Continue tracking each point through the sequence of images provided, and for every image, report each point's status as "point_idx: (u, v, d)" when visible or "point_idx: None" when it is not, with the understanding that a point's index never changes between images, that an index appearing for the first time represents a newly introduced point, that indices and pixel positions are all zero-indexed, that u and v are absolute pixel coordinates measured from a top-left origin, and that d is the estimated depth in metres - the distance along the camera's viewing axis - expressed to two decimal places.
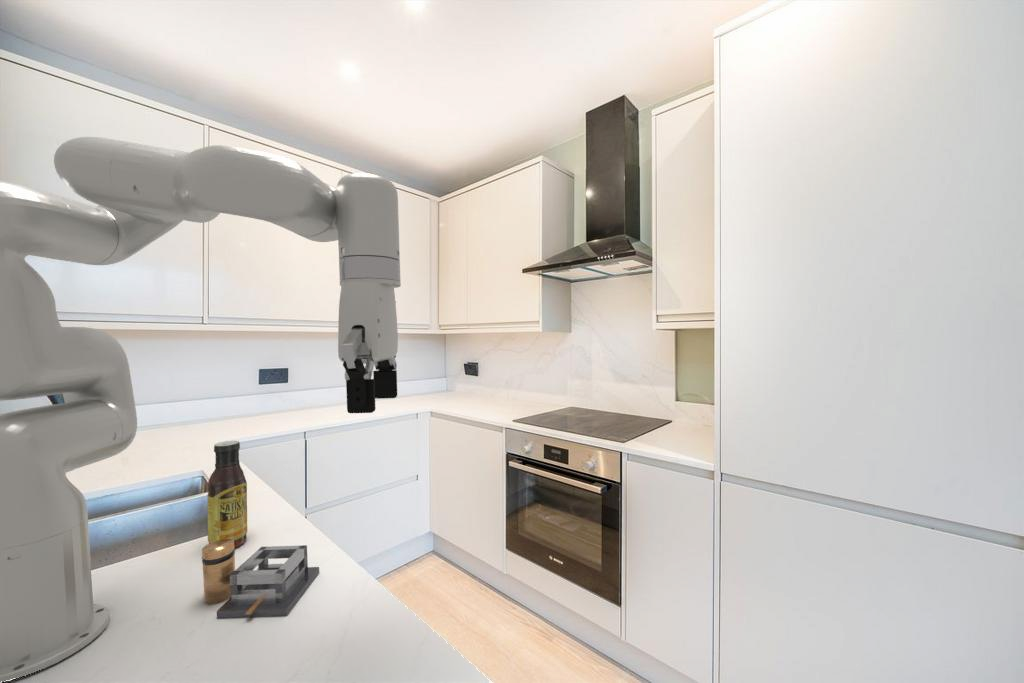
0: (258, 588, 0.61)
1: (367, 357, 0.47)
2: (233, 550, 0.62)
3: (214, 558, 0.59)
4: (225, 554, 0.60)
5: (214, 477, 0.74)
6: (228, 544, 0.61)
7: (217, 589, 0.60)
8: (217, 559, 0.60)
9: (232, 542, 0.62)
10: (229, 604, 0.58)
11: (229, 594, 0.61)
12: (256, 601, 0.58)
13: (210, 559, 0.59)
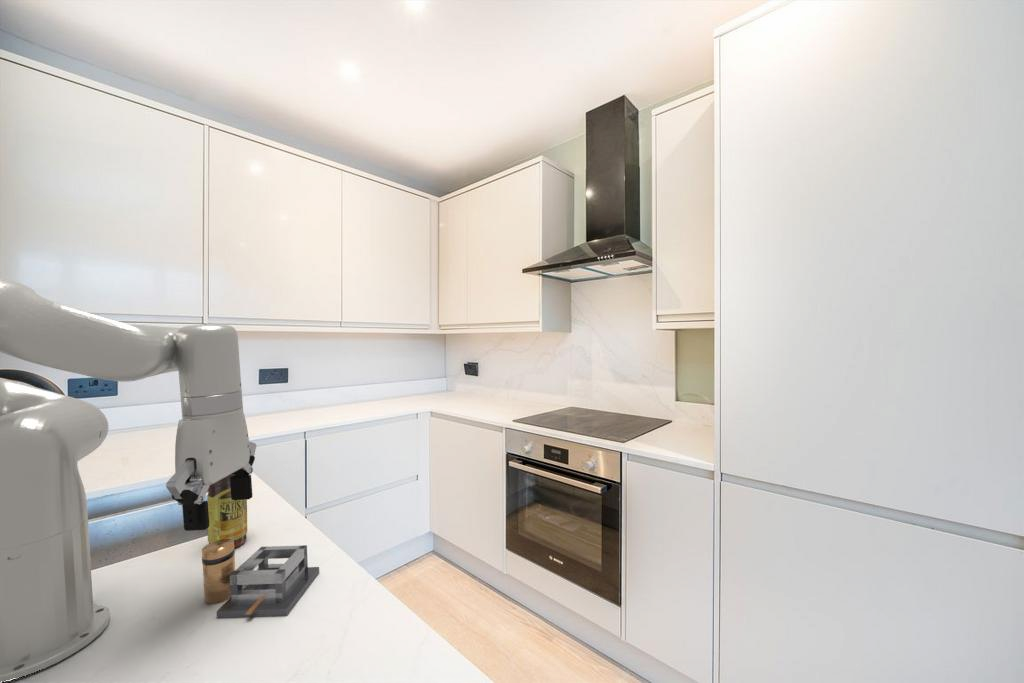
0: (258, 588, 0.61)
1: (200, 483, 0.56)
2: (233, 550, 0.62)
3: (214, 558, 0.59)
4: (225, 554, 0.60)
5: None
6: (228, 544, 0.61)
7: (217, 589, 0.60)
8: (217, 559, 0.60)
9: (232, 542, 0.62)
10: (229, 604, 0.58)
11: (229, 594, 0.61)
12: (256, 601, 0.58)
13: (210, 560, 0.59)
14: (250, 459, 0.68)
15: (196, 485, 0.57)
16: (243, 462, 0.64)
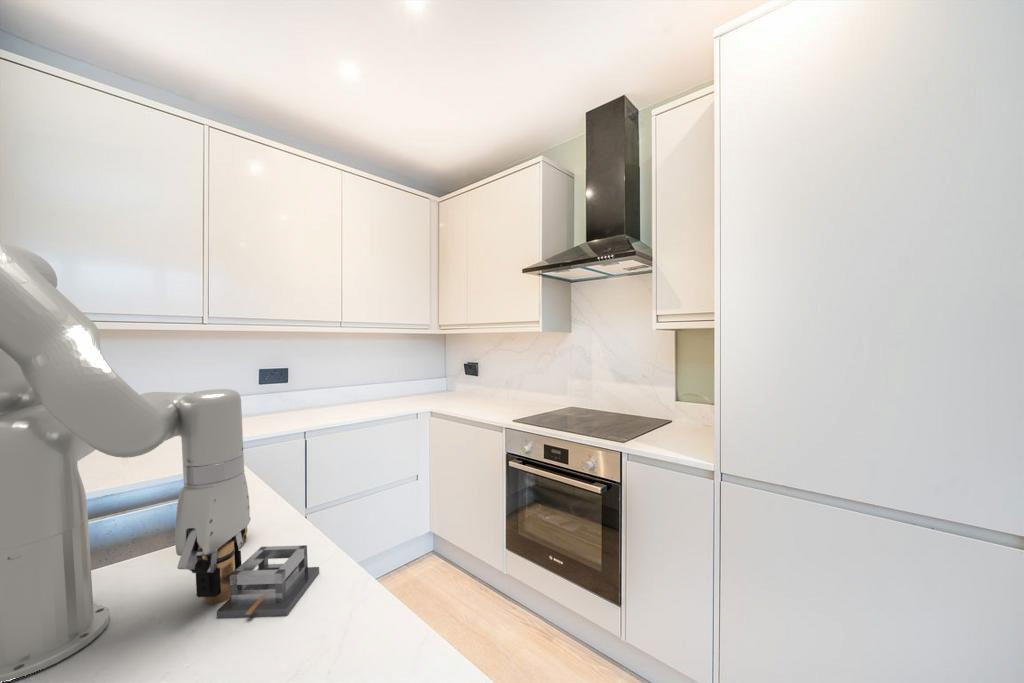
0: (258, 588, 0.61)
1: (208, 554, 0.58)
2: (233, 550, 0.62)
3: None
4: (225, 554, 0.60)
5: None
6: (228, 544, 0.61)
7: None
8: (217, 559, 0.60)
9: (232, 542, 0.62)
10: (229, 604, 0.58)
11: (229, 594, 0.61)
12: (256, 601, 0.58)
13: None
14: (240, 533, 0.65)
15: (204, 554, 0.58)
16: (243, 525, 0.64)
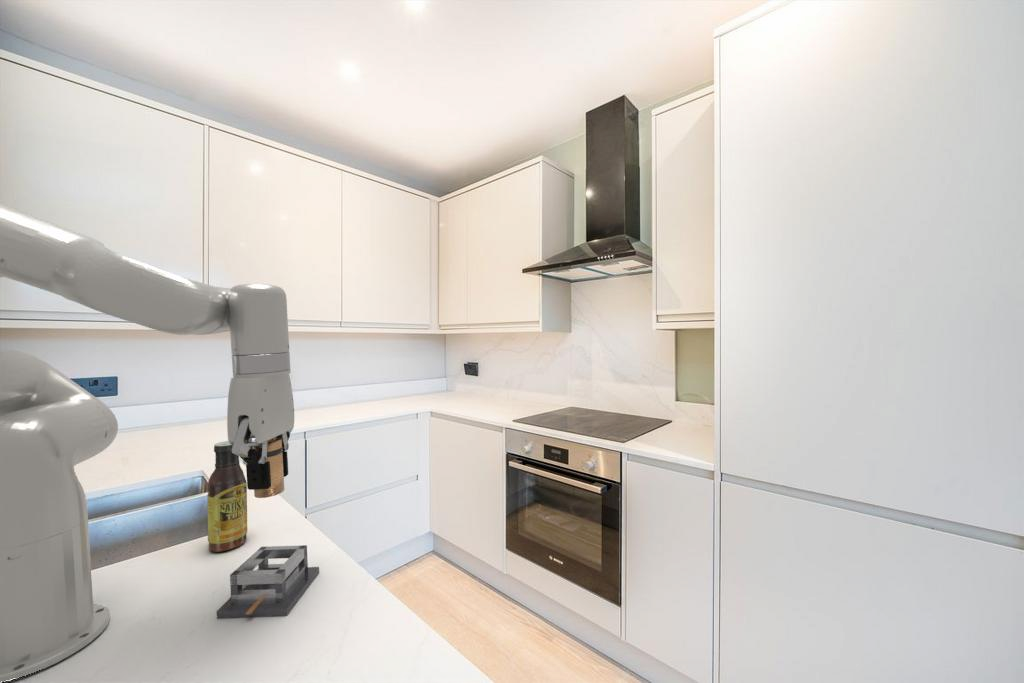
0: (258, 588, 0.61)
1: (259, 445, 0.58)
2: (281, 447, 0.62)
3: None
4: (274, 449, 0.60)
5: (214, 477, 0.74)
6: (276, 440, 0.61)
7: None
8: (267, 452, 0.59)
9: (280, 439, 0.62)
10: (229, 604, 0.58)
11: (279, 490, 0.61)
12: (256, 601, 0.58)
13: None
14: None
15: None
16: (289, 425, 0.64)
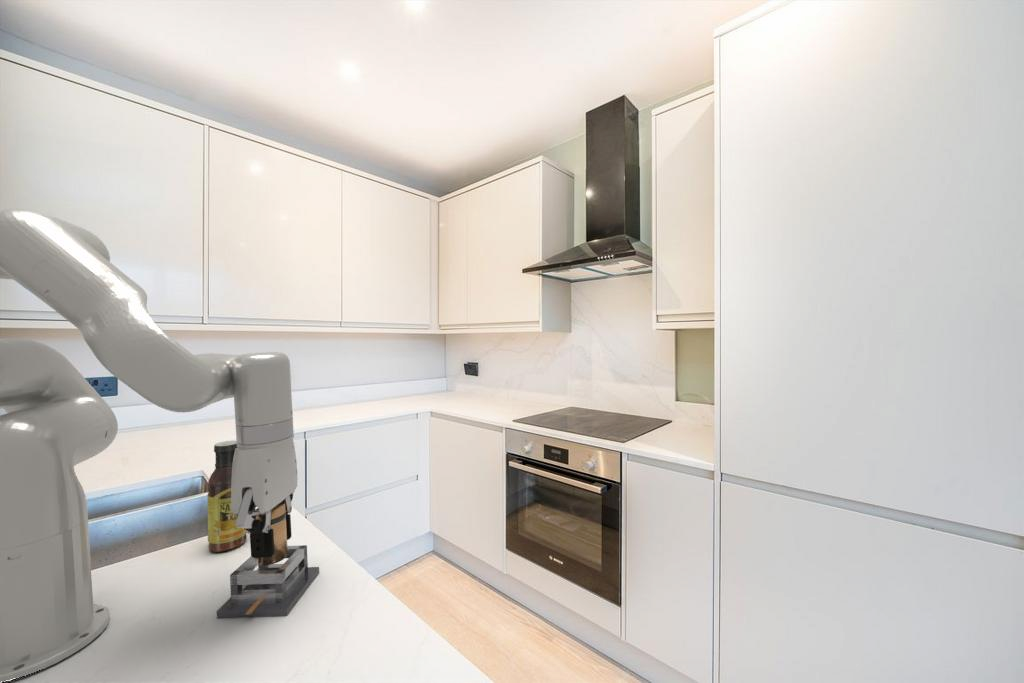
0: (258, 588, 0.61)
1: (262, 514, 0.58)
2: (285, 512, 0.62)
3: None
4: (278, 515, 0.60)
5: (214, 477, 0.74)
6: (280, 506, 0.62)
7: None
8: None
9: (283, 504, 0.62)
10: (229, 604, 0.58)
11: (282, 556, 0.61)
12: (256, 601, 0.58)
13: None
14: None
15: None
16: (292, 488, 0.64)
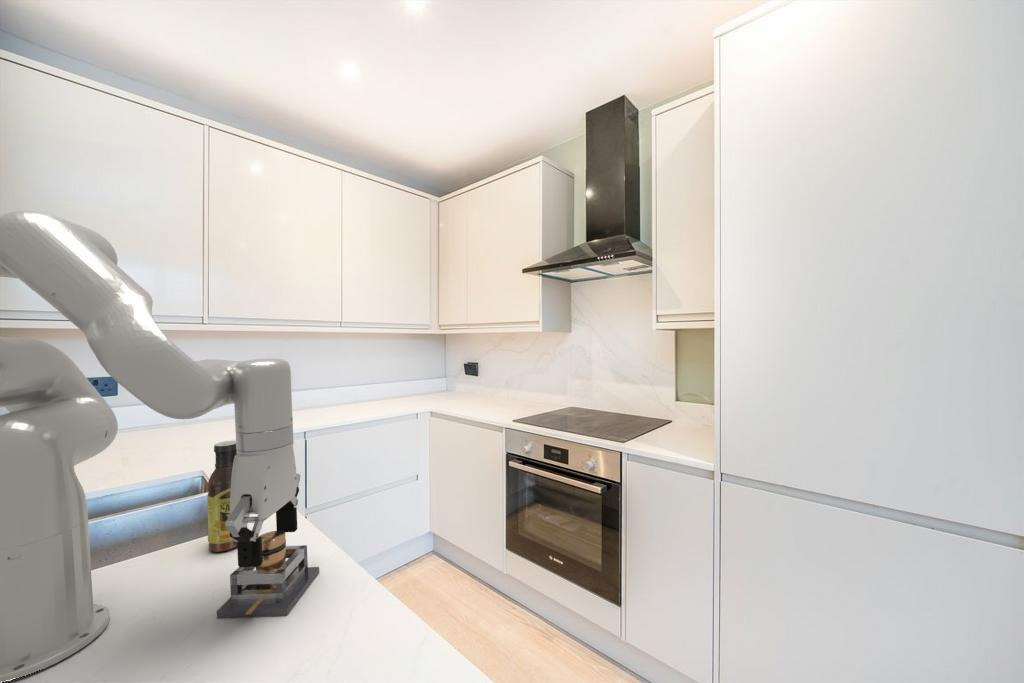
0: None
1: (255, 519, 0.57)
2: (284, 542, 0.62)
3: (267, 549, 0.60)
4: (277, 545, 0.60)
5: (214, 477, 0.74)
6: (280, 536, 0.62)
7: None
8: (270, 550, 0.60)
9: (283, 534, 0.62)
10: (229, 604, 0.58)
11: None
12: (256, 601, 0.58)
13: (263, 550, 0.59)
14: (295, 491, 0.68)
15: (250, 521, 0.57)
16: (291, 495, 0.64)
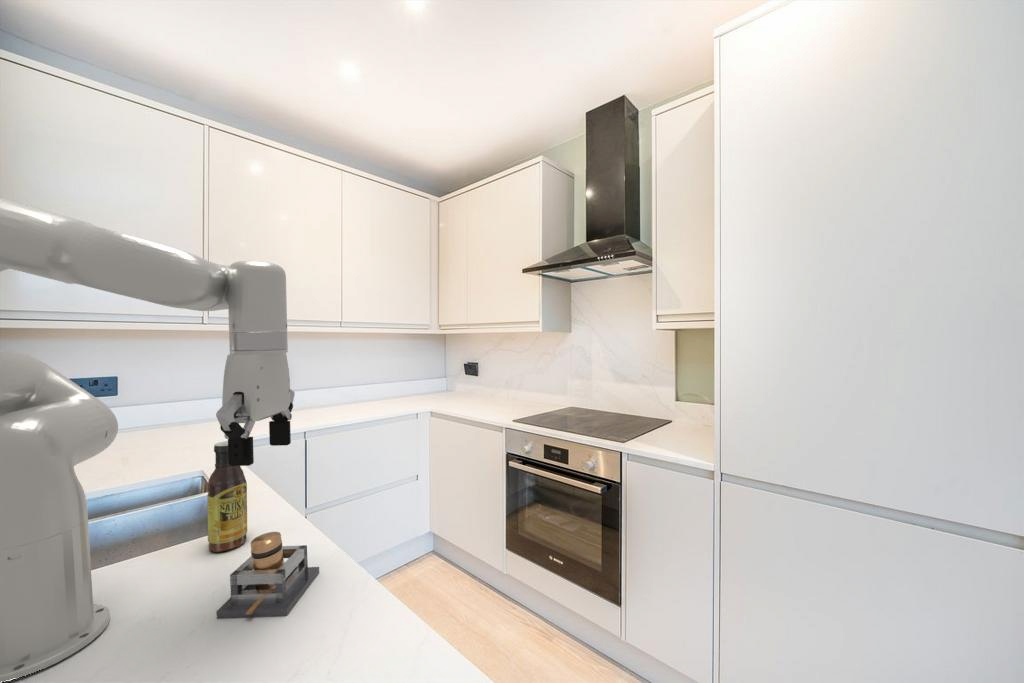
0: None
1: (247, 418, 0.56)
2: (280, 543, 0.61)
3: (262, 552, 0.59)
4: (272, 548, 0.60)
5: (214, 477, 0.74)
6: (275, 538, 0.61)
7: None
8: (265, 553, 0.59)
9: (279, 535, 0.61)
10: (229, 604, 0.58)
11: None
12: (256, 601, 0.58)
13: (258, 553, 0.59)
14: (289, 406, 0.67)
15: (242, 420, 0.56)
16: (284, 406, 0.63)
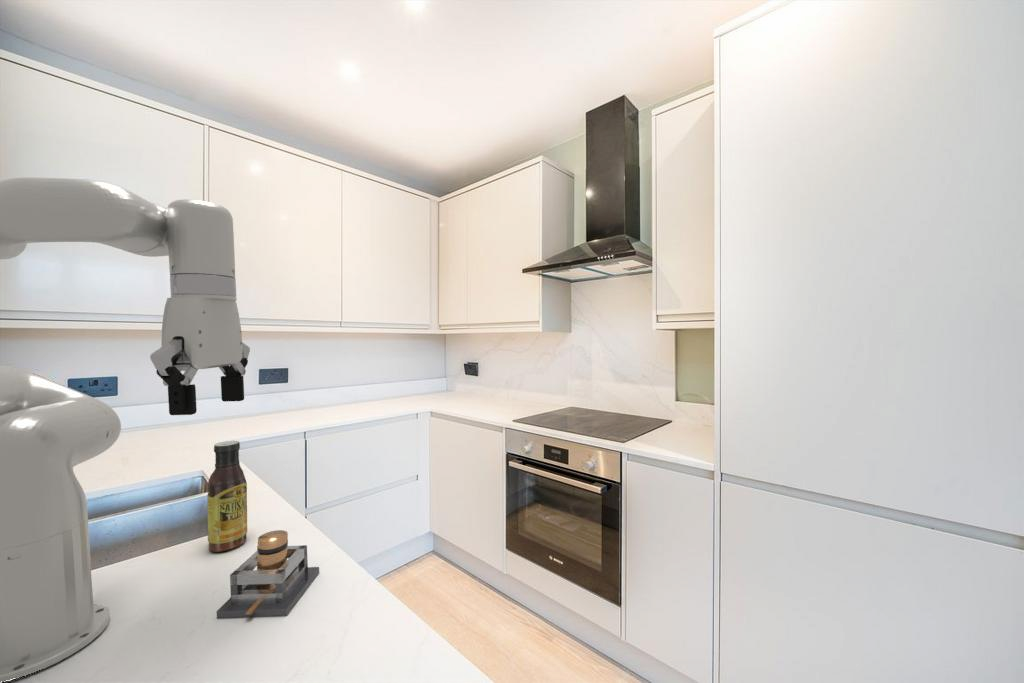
0: None
1: (188, 365, 0.53)
2: (286, 543, 0.62)
3: (267, 548, 0.60)
4: (278, 546, 0.60)
5: (214, 477, 0.74)
6: (282, 536, 0.62)
7: None
8: (270, 550, 0.60)
9: (286, 534, 0.62)
10: (229, 604, 0.58)
11: None
12: (256, 601, 0.58)
13: (263, 549, 0.60)
14: (243, 361, 0.64)
15: (183, 367, 0.53)
16: (235, 358, 0.60)
